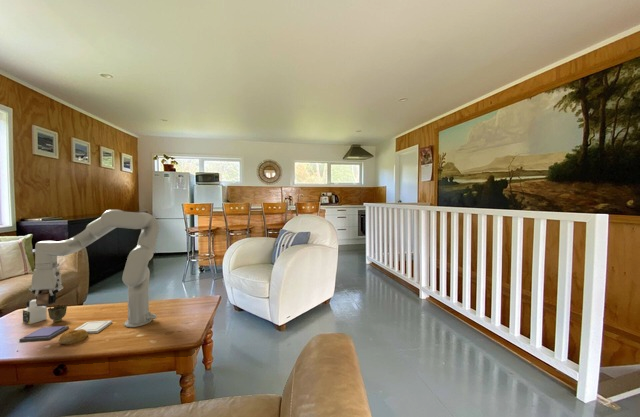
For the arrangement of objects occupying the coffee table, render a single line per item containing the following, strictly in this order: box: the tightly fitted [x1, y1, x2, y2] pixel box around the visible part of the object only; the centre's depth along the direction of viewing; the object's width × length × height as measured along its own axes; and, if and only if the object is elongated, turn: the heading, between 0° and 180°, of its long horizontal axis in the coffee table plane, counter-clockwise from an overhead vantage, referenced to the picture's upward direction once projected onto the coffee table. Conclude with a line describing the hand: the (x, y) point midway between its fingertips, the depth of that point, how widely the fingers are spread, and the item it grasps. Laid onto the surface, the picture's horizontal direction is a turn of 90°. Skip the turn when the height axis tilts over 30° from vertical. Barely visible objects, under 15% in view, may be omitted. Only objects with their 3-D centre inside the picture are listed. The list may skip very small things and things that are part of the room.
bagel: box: [58, 329, 89, 345], centre depth 126 cm, size 10×11×5 cm
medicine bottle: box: [22, 297, 48, 325], centre depth 146 cm, size 7×7×12 cm
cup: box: [47, 304, 68, 324], centre depth 146 cm, size 8×7×8 cm
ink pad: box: [19, 325, 69, 343], centre depth 131 cm, size 12×12×2 cm
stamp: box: [37, 290, 56, 307], centre depth 131 cm, size 4×4×8 cm
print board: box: [74, 319, 113, 335], centre depth 138 cm, size 12×12×1 cm
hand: (46, 302), depth 131 cm, fingers closed on stamp, 4 cm apart
